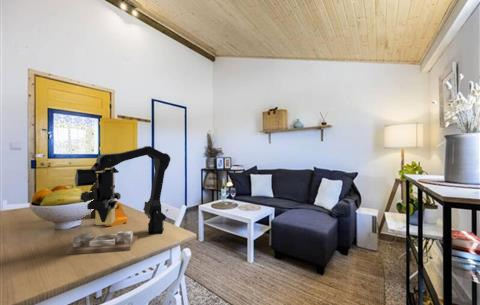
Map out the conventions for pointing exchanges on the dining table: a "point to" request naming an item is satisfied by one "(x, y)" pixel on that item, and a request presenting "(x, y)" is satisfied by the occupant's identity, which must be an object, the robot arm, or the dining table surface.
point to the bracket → (119, 216)
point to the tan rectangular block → (109, 219)
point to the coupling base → (102, 242)
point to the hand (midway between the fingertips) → (105, 220)
